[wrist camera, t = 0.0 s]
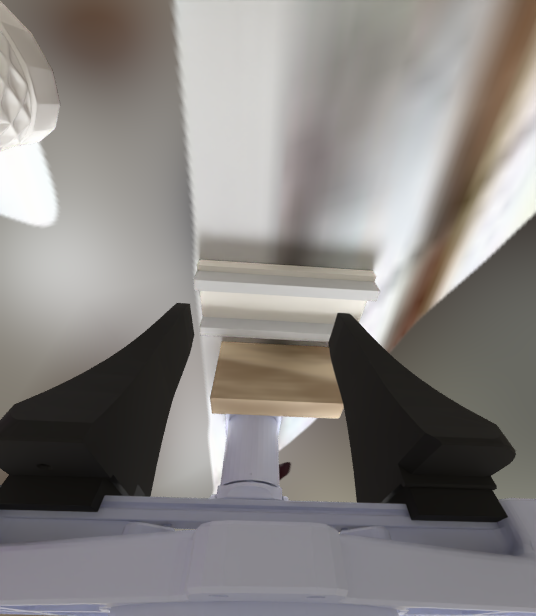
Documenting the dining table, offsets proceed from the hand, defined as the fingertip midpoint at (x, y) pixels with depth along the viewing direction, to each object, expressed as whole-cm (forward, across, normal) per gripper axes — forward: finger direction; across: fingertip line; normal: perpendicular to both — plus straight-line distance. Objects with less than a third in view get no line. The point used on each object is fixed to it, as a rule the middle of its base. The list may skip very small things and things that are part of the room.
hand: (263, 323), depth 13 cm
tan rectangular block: (+10, -2, +13) cm, 17 cm away
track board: (+10, -2, +6) cm, 12 cm away
